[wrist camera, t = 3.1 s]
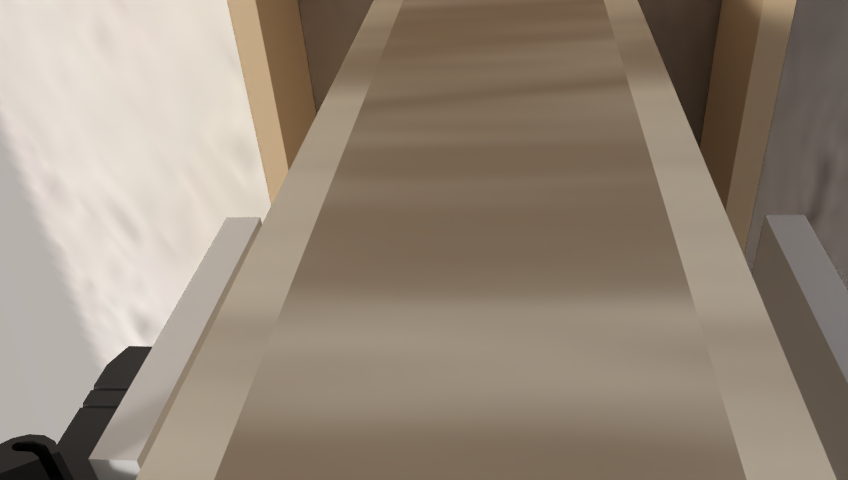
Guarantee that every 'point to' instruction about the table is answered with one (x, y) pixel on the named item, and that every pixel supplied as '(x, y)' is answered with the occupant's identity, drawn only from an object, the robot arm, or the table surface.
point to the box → (494, 276)
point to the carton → (723, 123)
